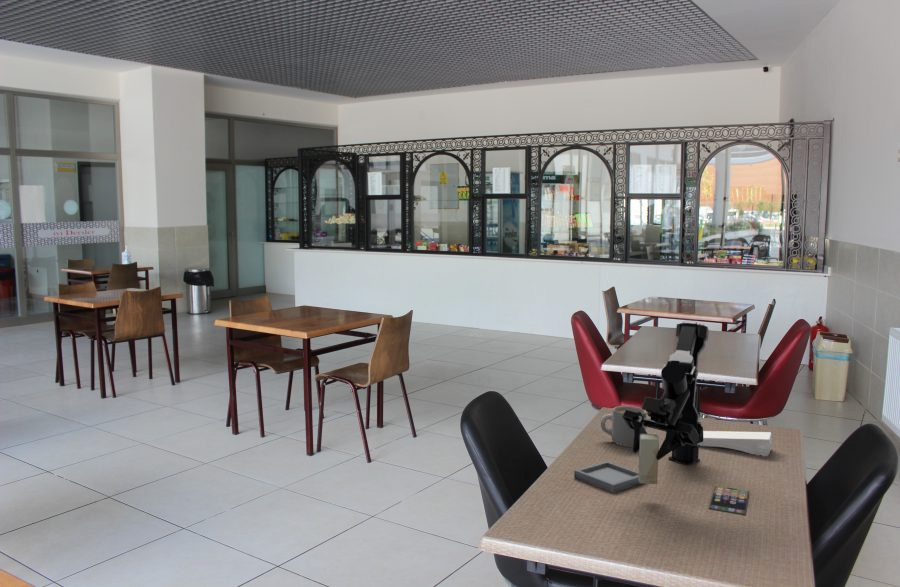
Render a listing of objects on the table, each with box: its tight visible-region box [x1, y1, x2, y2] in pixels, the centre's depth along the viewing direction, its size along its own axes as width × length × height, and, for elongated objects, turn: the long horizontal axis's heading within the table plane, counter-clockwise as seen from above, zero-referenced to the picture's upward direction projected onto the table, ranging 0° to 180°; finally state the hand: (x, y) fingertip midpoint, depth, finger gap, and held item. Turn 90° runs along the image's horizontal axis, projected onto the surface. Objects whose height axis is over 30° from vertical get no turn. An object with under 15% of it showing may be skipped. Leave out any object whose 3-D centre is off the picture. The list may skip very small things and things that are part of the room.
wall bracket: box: [698, 430, 773, 457], centre depth 220 cm, size 10×7×28 cm
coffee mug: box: [600, 405, 647, 447], centre depth 222 cm, size 13×10×10 cm
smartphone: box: [708, 485, 750, 516], centre depth 176 cm, size 8×15×1 cm, turn 154°
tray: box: [573, 460, 642, 494], centre depth 189 cm, size 13×13×2 cm
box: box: [637, 433, 660, 485], centre depth 175 cm, size 5×4×11 cm
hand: (645, 455), depth 174 cm, fingers closed on box, 6 cm apart
